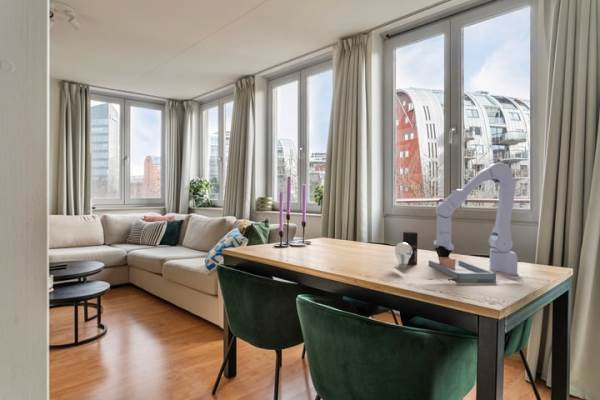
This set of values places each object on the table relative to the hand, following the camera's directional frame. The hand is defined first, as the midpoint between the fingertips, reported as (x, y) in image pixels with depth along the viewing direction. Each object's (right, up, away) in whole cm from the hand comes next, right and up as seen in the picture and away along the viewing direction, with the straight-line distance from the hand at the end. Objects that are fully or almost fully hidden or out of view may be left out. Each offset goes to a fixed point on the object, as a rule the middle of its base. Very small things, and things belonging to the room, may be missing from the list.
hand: (443, 265), depth 155 cm
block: (0, -1, -4) cm, 4 cm away
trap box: (+3, -3, -8) cm, 9 cm away
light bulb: (-17, -3, -2) cm, 17 cm away
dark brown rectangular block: (-11, -2, +8) cm, 14 cm away
